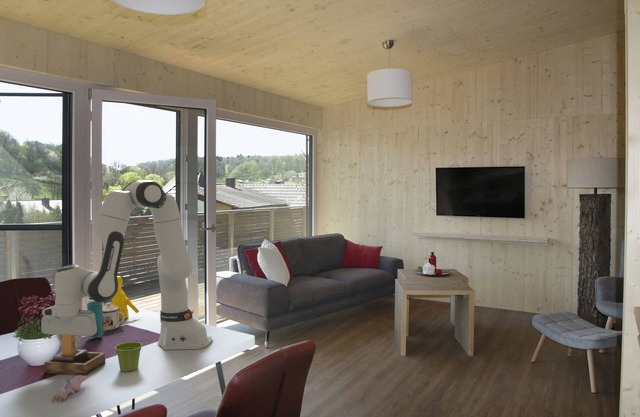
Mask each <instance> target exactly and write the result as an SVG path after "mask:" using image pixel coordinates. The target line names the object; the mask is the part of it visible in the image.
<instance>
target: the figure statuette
mask: <svg viewBox="0 0 640 417" xmlns="http://www.w3.org/2000/svg"><path fill="white" fill-rule="evenodd" d="M117 280H118V291H117V293H116V295H115V296H114V297H113V298H112V299H111V302H110V303H111V305H114V306H117V307H119V312H122V313H123V314H124V315H125V318H124V320H126V319H128V318H129V316H130V315H129V308H131V310H133V311H134V313H135V314H139V313H140V310H139V309H138V308H137V307H136V306H135V304H133V302H131V300H130V298H129V297H127V294H126V293H125V291H124V290H123V289H122V286H123V284H124V283H123V279H122V276H121V275H117ZM128 307H129V308H128ZM122 318H123V316H122V315H121V314H119V321H121V320H122Z"/></svg>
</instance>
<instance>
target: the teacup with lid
mask: <svg viewBox="0 0 640 417" xmlns="http://www.w3.org/2000/svg"><path fill="white" fill-rule="evenodd" d="M111 303H112V302H106V305H104V306H102V307H103V324H104V325H103V327H104V329H103V331H110V330H111V331H112V330H115V329H117V328H119V327H120V323H123V321H124V320H125V319H124V318H125V315H124V314H123V313H122V312H119V307H117V306H114V305H111ZM119 314H121V315H122V316H123V318H122V320H120V319H119Z"/></svg>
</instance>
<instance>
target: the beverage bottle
mask: <svg viewBox="0 0 640 417" xmlns="http://www.w3.org/2000/svg"><path fill="white" fill-rule="evenodd" d="M88 299H89V300H90V301H89V302H87V304H86V308H87V309H86V310H87V311H88V310H91V311H92V312H93V313H94V314H95V320H96V325H97V332H96V333H95V334H94V335H92V336H88V338H99V337H102V336H103V335H104V330H103V329H104V327H103V325H104V324H103V307H104V306H103V303H99V302H96V301H94V300H93V299H91V298H90V297H88Z"/></svg>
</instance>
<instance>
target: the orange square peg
mask: <svg viewBox="0 0 640 417" xmlns="http://www.w3.org/2000/svg"><path fill="white" fill-rule="evenodd" d="M75 341H76V338H75V336H72V335H71V334H62V346H61V352H62V355H65V356H73V355H75V354H77V349H78V347H73V344H72V343H73V342H75Z"/></svg>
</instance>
